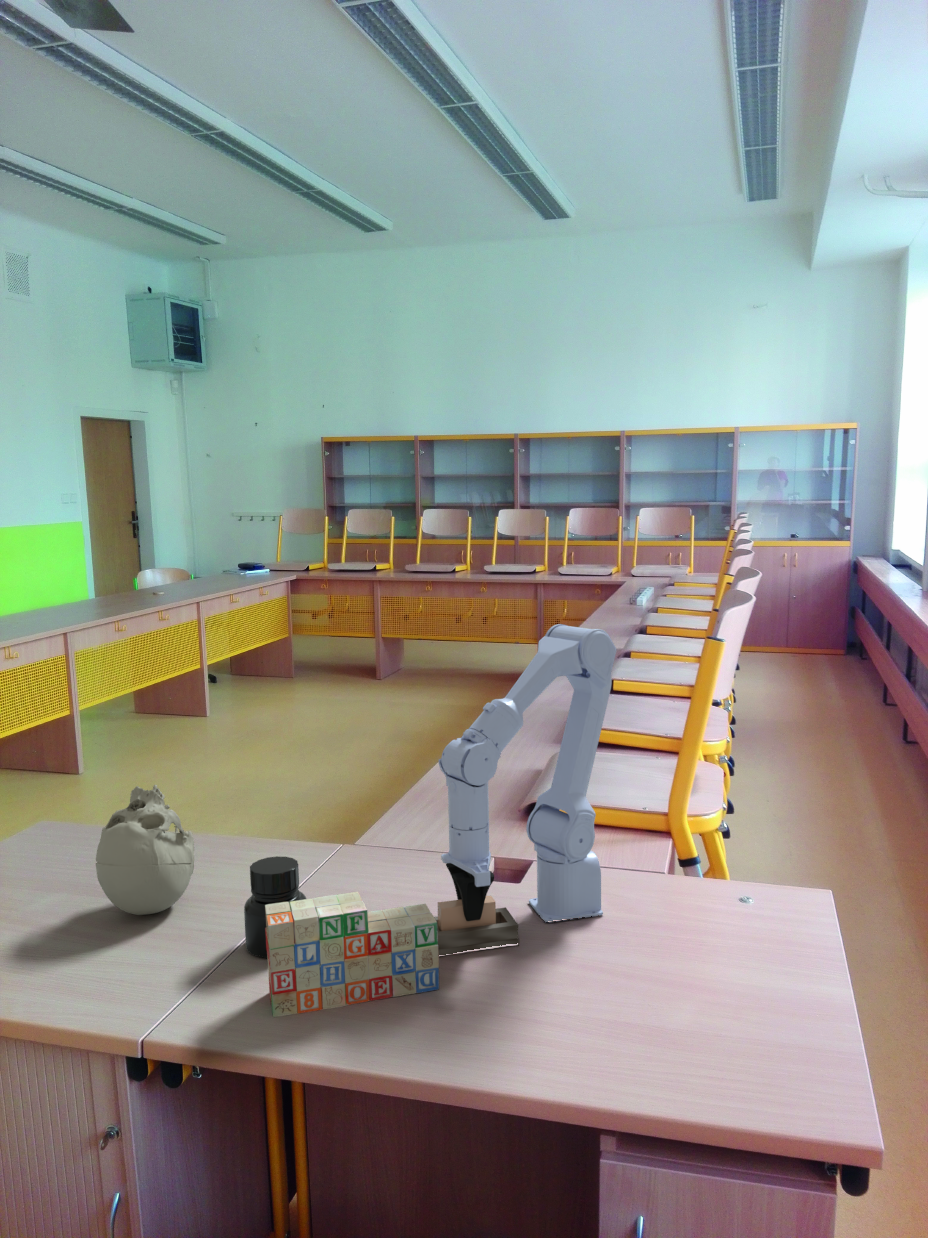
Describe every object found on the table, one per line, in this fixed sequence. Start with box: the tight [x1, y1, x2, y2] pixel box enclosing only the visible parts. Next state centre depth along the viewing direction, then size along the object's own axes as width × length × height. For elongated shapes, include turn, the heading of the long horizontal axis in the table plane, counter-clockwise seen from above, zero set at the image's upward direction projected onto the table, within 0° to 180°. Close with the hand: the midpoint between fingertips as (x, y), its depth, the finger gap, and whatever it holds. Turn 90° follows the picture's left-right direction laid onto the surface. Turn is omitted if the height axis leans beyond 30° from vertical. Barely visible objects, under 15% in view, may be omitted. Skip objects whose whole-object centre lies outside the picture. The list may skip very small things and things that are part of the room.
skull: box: [95, 784, 195, 916], centre depth 141 cm, size 13×15×20 cm
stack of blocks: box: [265, 891, 440, 1018], centre depth 117 cm, size 21×6×12 cm, turn 106°
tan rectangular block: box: [437, 895, 497, 931], centre depth 130 cm, size 8×2×5 cm, turn 105°
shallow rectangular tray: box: [434, 907, 520, 955], centre depth 130 cm, size 12×6×3 cm, turn 105°
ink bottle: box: [243, 856, 307, 959], centre depth 130 cm, size 10×9×12 cm
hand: (470, 915), depth 130 cm, fingers closed on tan rectangular block, 2 cm apart
